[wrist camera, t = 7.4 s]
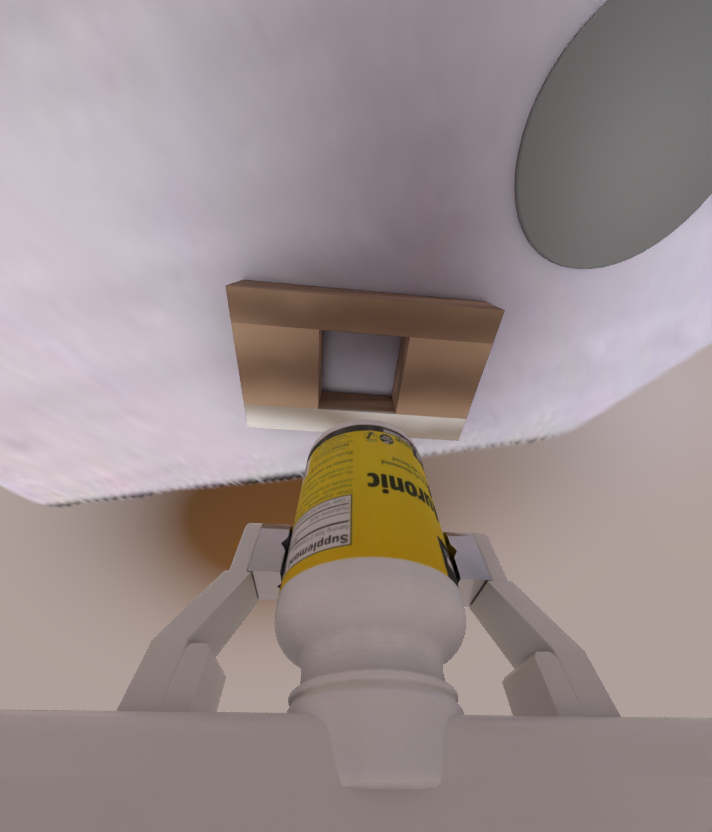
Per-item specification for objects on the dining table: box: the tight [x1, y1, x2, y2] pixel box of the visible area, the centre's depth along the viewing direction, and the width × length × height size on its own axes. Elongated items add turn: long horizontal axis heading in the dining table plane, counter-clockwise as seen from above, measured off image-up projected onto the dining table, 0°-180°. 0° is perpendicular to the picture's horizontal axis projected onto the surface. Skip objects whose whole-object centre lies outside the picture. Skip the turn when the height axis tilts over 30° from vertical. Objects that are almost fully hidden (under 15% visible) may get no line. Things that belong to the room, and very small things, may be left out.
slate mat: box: [515, 0, 712, 269], centre depth 18 cm, size 14×14×1 cm
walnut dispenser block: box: [226, 280, 505, 441], centre depth 24 cm, size 12×20×3 cm, turn 85°
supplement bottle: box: [275, 419, 466, 789], centre depth 9 cm, size 5×5×10 cm
